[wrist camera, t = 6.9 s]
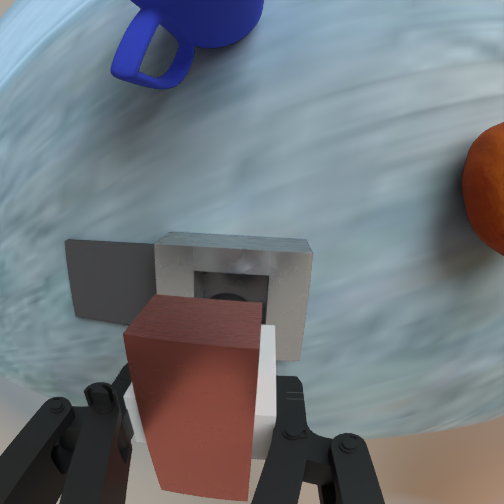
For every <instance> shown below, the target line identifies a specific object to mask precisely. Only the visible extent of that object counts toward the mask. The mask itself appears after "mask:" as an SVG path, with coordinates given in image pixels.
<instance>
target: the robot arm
mask: <svg viewBox="0 0 504 504" xmlns="http://www.w3.org/2000/svg"><path fill="white" fill-rule="evenodd" d="M84 393H85V396H86V399H87V402H88V405H89V406H87V407H76V406H72V405H71V403H70V402H69V400H68V399H66V398H64V397H53V398H51V399H49V400H48V401H46V402H45V403H44V404H43V405H42V406H41V408H40V409H39V410H38V411H37V412H36V413H35V415H34V416H33V417H32V418H31V419H30V421H29V422H28V423H27V424H26V426H25V427H24V428H23V429H22V430H21V431H20V433H19V434H18V435H17V436H16V438H15V439H14V440H13V441H12V442H11V444H10V445H9V446H8V447H7V448H6V450H5V451H4V452H3V454H2V455H1V456H0V504H56V503H57V501H58V499H59V497H60V495H61V494H62V495H61V499H60V503H59V504H125V499H126V490H127V482H128V474H129V467H130V460H131V453H132V445H131V439H132V437H133V435H134V436H135V440H136V442H139V443H143V444H147V442H146V438H145V434H144V431H143V427H142V423H141V419H140V415H139V411H138V407H137V403H136V399H135V394H134V390H133V385H132V380H131V375H130V370H129V365H128V364H126V365H125V366H124V367H123V368H122V370H121V371H120V374H118V376H117V377H116V379H115V381H114V382H113V384H112V385H110V384H108V383H104V382H98V383H94V384H91V385H89V386H88V387H86V389H85V390H84ZM251 459H263V460H264V459H265V460H266V461H265V464H264V467H263V470H262V473H261V476H260V479H259V482H258V485H257V488H256V491H255V494H254V497H253V500H252V503H251V504H297V503H298V499H299V494H300V490H301V485H302V481H303V482H308V483H312V484H316V485H318V492H319V499H320V504H385V502H384V499H383V495H382V492H381V489H380V486H379V482H378V479H377V476H376V473H375V470H374V466H373V464H372V460H371V457H370V455H369V451H368V448H367V445H366V443H365V441H364V440H363V439H362V438H361V437H360V436H358V435H355V434H352V433H344V434H339V435H338V436H336V437H335V438H334V439H330V438H325V437H321V436H318V435H316V434H315V433H313V432H312V431H311V430H310V429H309V427H308V425H307V421H306V412H305V403H304V395H303V386H302V383H301V381H300V380H299V379H298V377H297V376H276V349H275V325H261V338H260V354H259V367H258V381H257V394H256V407H255V419H254V431H253V443H252V455H251Z"/></svg>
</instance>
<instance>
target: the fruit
mask: <svg viewBox="0 0 504 504" xmlns="http://www.w3.org/2000/svg"><path fill="white" fill-rule="evenodd" d="M462 188H463V197H464V203H465V208H466V213H467V216H468V219H469V222H470V224H471V226H472V228H473V229H474V231H475V232H476V234H477V235H478V236H479V237H480V239H481V240H482V241H483V242H485V243H486V244H487V245H488V246H490V247H491V248H493V249H494V250H495V251H497V252H498V253H500V254H501V255H503V256H504V122H503V123H501V124H498V125H496V126H493V127H491V128H489V129H487V130H486V131H484V132H483V133H482V134H481V135H480V136H479V137H478V138H477V139H476V140H475V141H474V142H473V144H472V146H471V148H470V150H469V152H468V156H467V159H466V163H465V167H464V171H463V177H462Z"/></svg>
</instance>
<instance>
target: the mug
mask: <svg viewBox="0 0 504 504" xmlns="http://www.w3.org/2000/svg"><path fill="white" fill-rule="evenodd" d="M131 1H132V2H133V3H134V4H136V5H137V6H138V7H140V8H141V9H140V11H139V12H138V14H137V15H136V16H135V18H134V19H133V20H132V22H131V23H130V25H129V27H128V28H127V30H126V32H125V34H124V36H123V38H122V40H121V42H120V44H119V47H118V49H117V51H116V54H115V56H114V59H113V62H112V65H111V74H112V75H113V76H114V77H116V78H118V79H120V80H123V81H127V82H130V83H133V84H137V85H140V86H144V87H149V88H155V89H169V88H173V87H175V86H177V85H178V84H179V83H181V81H182V80H183V79H184V77H185V76H186V74H187V72H188V70H189V68H190V66H191V63H192V61H193V57H194V46H196V47H201V48H217V47H223V46H227V45H230V44H232V43H235V42H237V41H239V40H240V39H242V38H243V37H245V36H246V35H247V34H248V33H249V32H250V31H252V29H253V28H254V27H255V26H256V24H257V22H258V21H259V19H260V16H261V14H262V10H263V3H264V0H131ZM159 24H160V25H162V26H163V27H164V28H165V29H166V30H168V31H169V32H170V33H171V34H172V35H173V36H174V37H175V38H176V39H177V40H178V42H179V48H178V51H177V54H176V56H175V59H174V61H173V63H172V65H171V66H170V68H169V69H168V71H167V72H166V73H165V74H164V75H163V76H161V77H157V78H155V77H151V76H148V75H145V74H143V73H141V72H139V68H140V65H141V62H142V60H143V57H144V55H145V52H146V50H147V47H148V45H149V43H150V41H151V39H152V37H153V35H154V33H155V31H156V29H157V27H158V26H159Z"/></svg>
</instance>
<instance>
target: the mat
mask: <svg viewBox="0 0 504 504" xmlns="http://www.w3.org/2000/svg"><path fill="white" fill-rule="evenodd" d="M65 249H66V258H67V266H68V273H69V280H70V287H71V293H72V299H73V304H74V310H75V315H76V316H78V317H83V318H89V319H95V320H101V321H107V322H113V323H120V324H126V325H130V324H131V323H132V322H133V321H134V319H135V318H136V317H137V316H138V314H139V313H140V312H141V311H142V309H143V308H144V307H145V306H146V304H147V303H148V302H149V301H150V299H151V298H152V297H153V296H154V295H155V294H157V288H156V272H155V251H154V244H144V243H126V242H109V241H91V240H73V239H68V240H66V241H65Z"/></svg>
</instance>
